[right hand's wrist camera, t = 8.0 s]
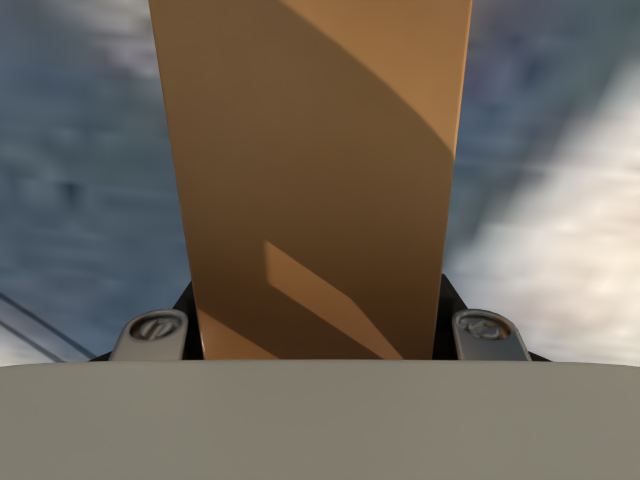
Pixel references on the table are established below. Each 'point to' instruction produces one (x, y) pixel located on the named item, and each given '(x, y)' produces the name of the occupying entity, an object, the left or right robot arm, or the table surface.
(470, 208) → the table surface
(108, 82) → the table surface
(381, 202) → the beam
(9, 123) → the table surface
